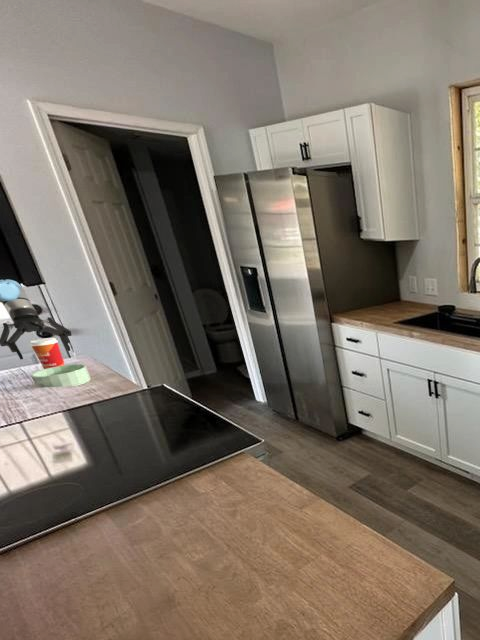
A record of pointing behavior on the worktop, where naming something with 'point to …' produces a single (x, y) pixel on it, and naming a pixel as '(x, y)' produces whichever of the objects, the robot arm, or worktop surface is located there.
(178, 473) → the worktop surface
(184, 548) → the worktop surface
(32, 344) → the paper cup
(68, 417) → the worktop surface
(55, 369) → the bowl
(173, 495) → the worktop surface
